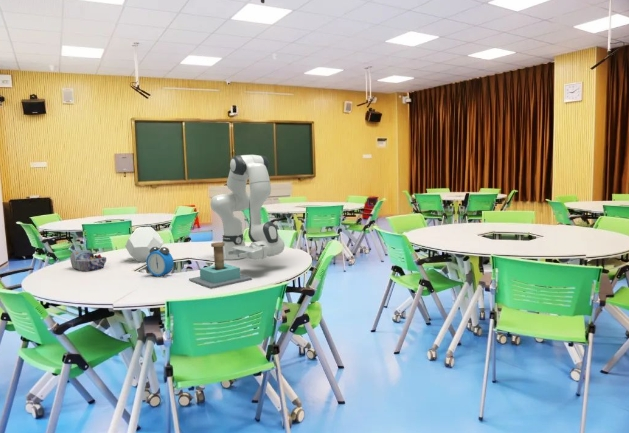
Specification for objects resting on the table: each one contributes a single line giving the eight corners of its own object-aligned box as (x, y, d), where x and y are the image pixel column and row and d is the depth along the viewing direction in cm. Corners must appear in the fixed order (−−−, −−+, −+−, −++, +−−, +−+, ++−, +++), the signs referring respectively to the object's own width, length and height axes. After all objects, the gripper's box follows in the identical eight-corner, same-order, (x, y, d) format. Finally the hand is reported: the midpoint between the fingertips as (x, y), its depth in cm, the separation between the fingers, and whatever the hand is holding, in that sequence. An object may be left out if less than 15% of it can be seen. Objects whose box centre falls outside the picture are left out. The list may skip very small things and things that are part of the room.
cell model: (84, 247, 267) (108, 249, 259) (85, 265, 268) (110, 268, 260) (63, 251, 255) (89, 253, 247) (65, 270, 256) (90, 273, 248)
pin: (211, 278, 221) (208, 243, 219) (222, 275, 226) (220, 241, 223) (217, 280, 217) (215, 245, 214) (229, 277, 221) (227, 243, 219)
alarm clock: (147, 276, 235) (144, 247, 233) (155, 273, 241) (153, 245, 239) (167, 277, 230) (164, 248, 228) (175, 274, 236) (173, 246, 234)
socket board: (189, 280, 222) (188, 268, 222) (228, 272, 237) (227, 261, 236) (211, 288, 206) (210, 275, 205) (251, 279, 220) (251, 267, 219)
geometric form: (140, 265, 263) (137, 230, 261) (121, 261, 275) (119, 228, 273) (169, 258, 279) (167, 226, 277) (151, 255, 291) (148, 224, 289)
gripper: (245, 242, 242) (222, 245, 233) (267, 246, 226) (244, 250, 217) (246, 253, 242) (223, 257, 233) (268, 258, 227) (244, 263, 218)
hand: (233, 254), depth 225 cm, fingers open, 8 cm apart
